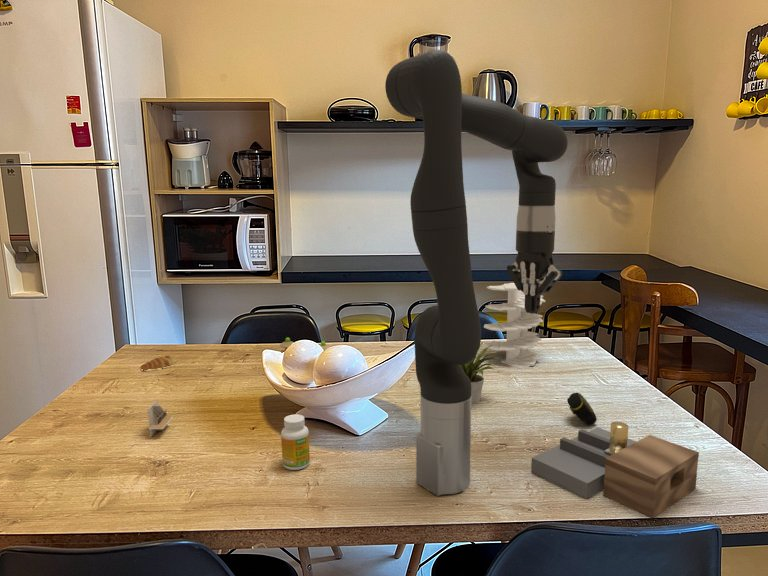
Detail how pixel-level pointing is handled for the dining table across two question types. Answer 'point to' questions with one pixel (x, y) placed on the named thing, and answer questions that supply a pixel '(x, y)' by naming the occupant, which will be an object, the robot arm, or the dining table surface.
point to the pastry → (158, 363)
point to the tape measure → (581, 408)
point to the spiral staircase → (515, 328)
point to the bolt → (618, 438)
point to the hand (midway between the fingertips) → (532, 312)
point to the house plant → (472, 372)
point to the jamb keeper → (650, 475)
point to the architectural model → (157, 418)
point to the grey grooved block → (576, 462)
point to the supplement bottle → (295, 443)
